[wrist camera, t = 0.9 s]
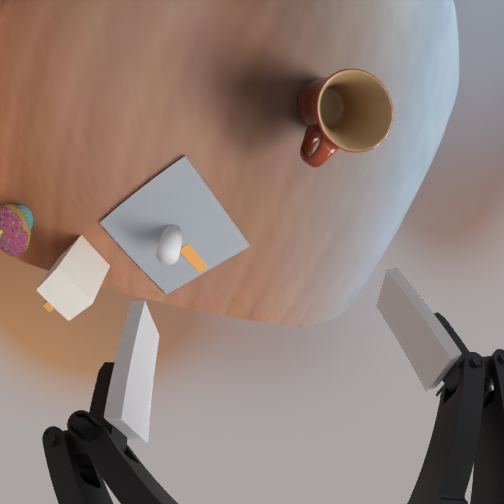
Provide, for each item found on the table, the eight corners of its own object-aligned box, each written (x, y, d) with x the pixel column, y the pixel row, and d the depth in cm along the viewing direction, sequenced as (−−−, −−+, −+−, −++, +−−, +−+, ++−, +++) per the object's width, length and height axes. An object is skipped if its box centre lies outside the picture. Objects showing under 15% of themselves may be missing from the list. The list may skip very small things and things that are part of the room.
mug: (312, 61, 28) (347, 51, 19) (361, 101, 31) (406, 107, 22) (261, 132, 32) (279, 146, 24) (314, 167, 36) (346, 193, 27)
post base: (100, 221, 36) (85, 241, 30) (185, 155, 33) (179, 166, 28) (167, 292, 44) (162, 318, 39) (249, 244, 41) (254, 267, 36)
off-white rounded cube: (81, 234, 36) (56, 268, 28) (110, 266, 40) (92, 303, 32) (50, 266, 38) (28, 299, 30) (76, 292, 42) (59, 328, 34)
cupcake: (6, 191, 30) (-38, 224, 19) (41, 196, 32) (-3, 233, 21) (11, 236, 34) (-25, 275, 24) (44, 244, 36) (10, 288, 26)
